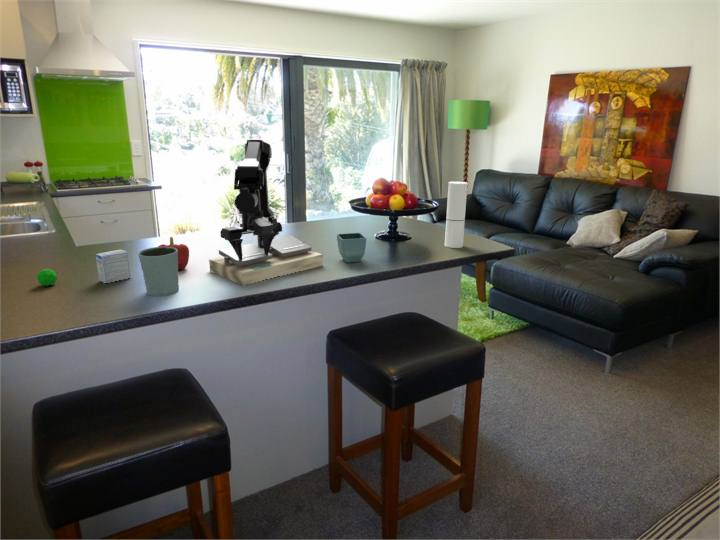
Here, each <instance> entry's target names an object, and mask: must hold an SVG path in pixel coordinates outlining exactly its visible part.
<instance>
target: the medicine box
mask: <svg viewBox="0 0 720 540" xmlns="http://www.w3.org/2000/svg"><path fill="white" fill-rule="evenodd" d="M94 255H95V261H96V267H97V269H96V270H97V276H98V281H99V280H100V281H102V282H104V283H109V284H111V283H110V282H113V283H116V282H115V281H117V282H120V281H119V280H121V281H124V279H125V280H129V279H131V278H132V273H131V267H130V259H129V252H128V251H126V250H124V249H117V250H110V251H106V252H105V251H104V252H100V253H96V254H94ZM128 278H129V279H128ZM100 281H99V282H100ZM102 282H101V283H102ZM104 283H103V284H104Z"/></svg>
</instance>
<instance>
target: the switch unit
mask: <svg viewBox="0 0 720 540" xmlns="http://www.w3.org/2000/svg"><path fill="white" fill-rule="evenodd" d="M300 241H301V240H300ZM301 242H303V243H305V241H301ZM263 250H264V248H263ZM268 253H270V254H272V259H269V260H265V261H260V262H256V263H251V264H247V265H242V266H238V265H236V264H235V263H233V262H231V261H230V260H229V257H227V256H226V257H223V256H218V257H213V258H209V259H208V262H209V271H210V272H211V271H212V272H211V273H213V272H215V273H214V274H216V273H217V274H216V275H218V274H219V275H218V276H220V275H221V276H220V277H222V276H223V277H222V278H224V279H227V278H228V279H227V280H229V279H230V280H229V281H231V280H232V282H234V281H235V282H234V283H236V282H237V283H236V284H238V283H239V285H240V284H241V285H240V286H243V285H244V286H247V284H248V285H251V283H252V284H255V282H256V283H259V282H258V281H260V282H263V281H262V280H264V281H266V280H265V279H268V280H271V279H270V278H272V279H274V277H276V278H278V277H277V276H280V277H282V276H283V275H284V276H287V274H288V275H291V273H292V274H295V272H296V273H299V271H300V272H302V271H306V270H307V271H308V270H311V269H315V268H320V267H322V266H323V265H324V262H323V260H324V259H323V254H322V253H320V252H316V251H312V250H311V251H309V252H305V253H300V254H296V255H291V256H287V257H281V256H279V255H278V254H276V253H274V252H273V250H272V248H270V249H269V252H268Z"/></svg>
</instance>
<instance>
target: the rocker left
mask: <svg viewBox="0 0 720 540" xmlns="http://www.w3.org/2000/svg"><path fill="white" fill-rule="evenodd" d="M241 246H242V260H240V259H239V258H238V256H237V254H236V252H235V250H234V248H233V247H232V246H230V247H225V248H220V249H218V254H219V255H220V256H221V257H226V256H227V257H229V260H230V261H231V262H233V263H235V264H236V265H238V266H242V265H247V264H251V263H256V262H260V261H265V260H269V259H272V254H270V253H268V255H266V254H265V252H264V250H263V249H261V248H259V247H258V245H255V244H253V243H247V244H243V245H242V244H241Z"/></svg>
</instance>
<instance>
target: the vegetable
mask: <svg viewBox="0 0 720 540" xmlns="http://www.w3.org/2000/svg"><path fill="white" fill-rule="evenodd" d="M157 247H173V248H176V249H177V250H178V271H179V270H184V269H185V268H187V266H188V264H189V260H190V249H189V246H188V245H186V244H182V243H180V244H177V243H175V244H174V237H173V236H170V237H169V244H160V245H158V246H157Z"/></svg>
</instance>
